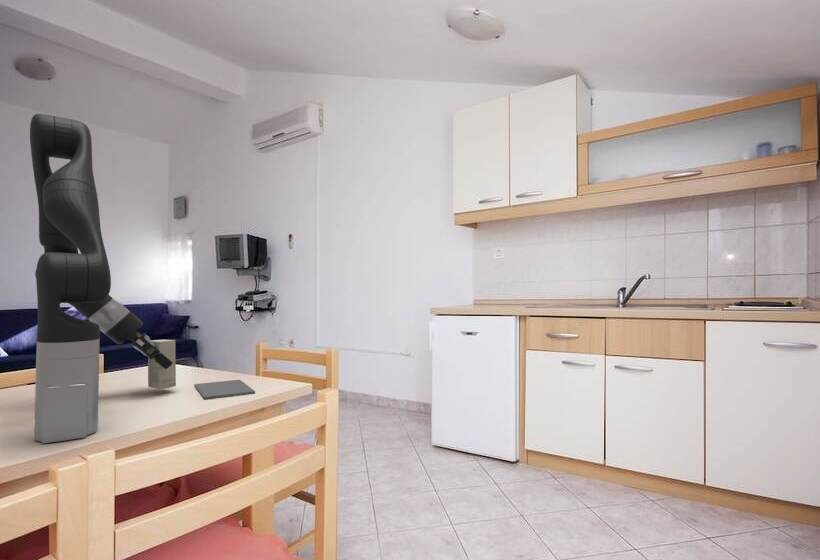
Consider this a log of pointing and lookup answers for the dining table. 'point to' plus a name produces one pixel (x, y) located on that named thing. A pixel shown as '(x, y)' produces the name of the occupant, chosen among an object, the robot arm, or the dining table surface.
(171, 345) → the skincare box
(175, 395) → the dining table surface
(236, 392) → the mat
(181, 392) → the dining table surface
